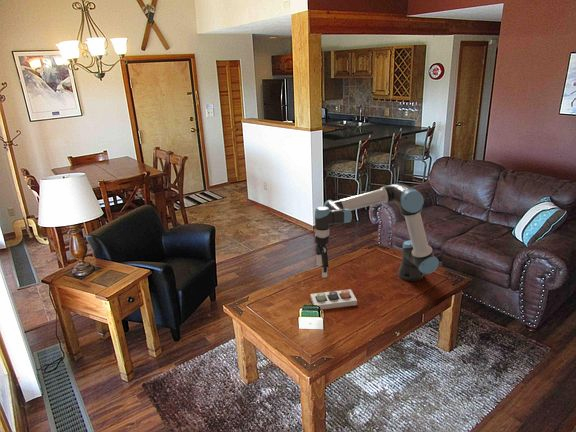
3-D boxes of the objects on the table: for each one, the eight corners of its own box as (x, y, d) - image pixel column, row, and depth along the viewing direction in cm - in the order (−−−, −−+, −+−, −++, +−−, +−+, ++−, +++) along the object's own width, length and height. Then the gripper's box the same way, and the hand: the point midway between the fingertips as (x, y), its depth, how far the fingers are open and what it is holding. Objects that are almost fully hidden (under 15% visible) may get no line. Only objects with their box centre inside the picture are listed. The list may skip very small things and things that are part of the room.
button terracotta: (348, 293, 231) (348, 289, 229) (350, 298, 226) (350, 293, 225) (340, 294, 230) (340, 290, 229) (342, 299, 225) (342, 294, 224)
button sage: (324, 296, 229) (324, 292, 228) (326, 301, 224) (326, 296, 223) (316, 297, 228) (316, 293, 227) (318, 302, 224) (317, 297, 223)
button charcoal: (336, 295, 230) (336, 290, 229) (338, 299, 225) (338, 295, 224) (328, 296, 229) (328, 291, 228) (330, 300, 225) (330, 296, 223)
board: (350, 293, 235) (350, 289, 234) (357, 305, 224) (357, 300, 223) (310, 298, 232) (310, 294, 231) (314, 310, 221) (314, 305, 220)
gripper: (310, 227, 224) (310, 261, 231) (320, 245, 201) (320, 282, 208) (323, 226, 225) (323, 260, 232) (334, 244, 202) (334, 281, 209)
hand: (321, 271), depth 220 cm, fingers open, 13 cm apart
